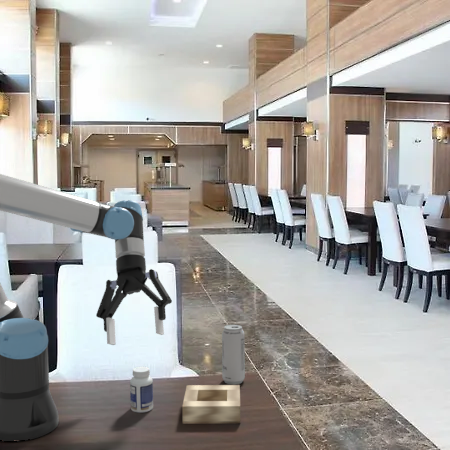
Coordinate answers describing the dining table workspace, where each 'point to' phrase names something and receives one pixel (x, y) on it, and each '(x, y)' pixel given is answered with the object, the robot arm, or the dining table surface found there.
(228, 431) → the dining table surface
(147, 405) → the pill bottle
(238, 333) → the energy drink can
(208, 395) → the socket block
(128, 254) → the robot arm
